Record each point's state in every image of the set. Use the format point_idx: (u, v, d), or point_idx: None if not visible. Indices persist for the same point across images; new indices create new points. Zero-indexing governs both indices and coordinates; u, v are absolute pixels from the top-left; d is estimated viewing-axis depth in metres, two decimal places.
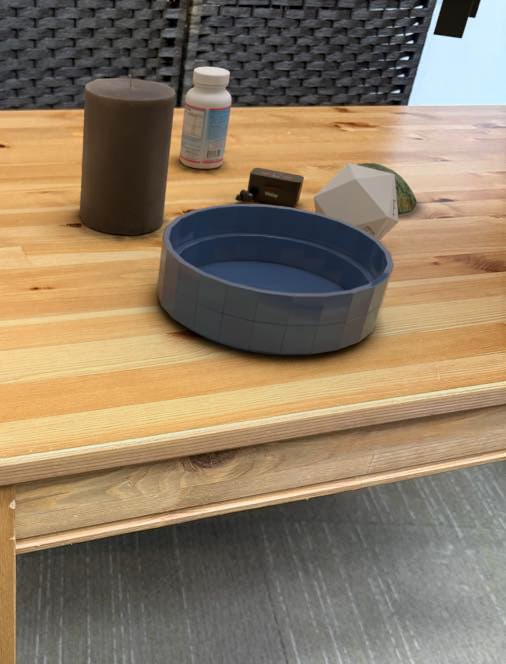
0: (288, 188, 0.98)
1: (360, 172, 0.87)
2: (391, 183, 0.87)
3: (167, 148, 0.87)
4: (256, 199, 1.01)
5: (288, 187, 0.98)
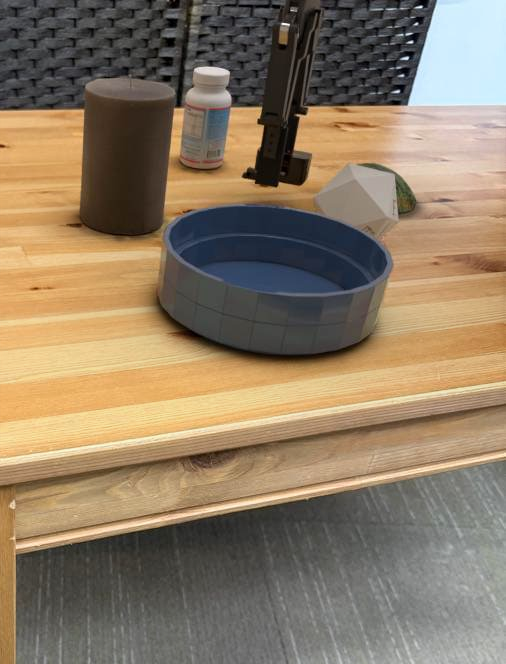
0: (296, 165, 0.96)
1: (360, 172, 0.87)
2: (391, 183, 0.87)
3: (167, 148, 0.87)
4: None
5: (296, 164, 0.96)
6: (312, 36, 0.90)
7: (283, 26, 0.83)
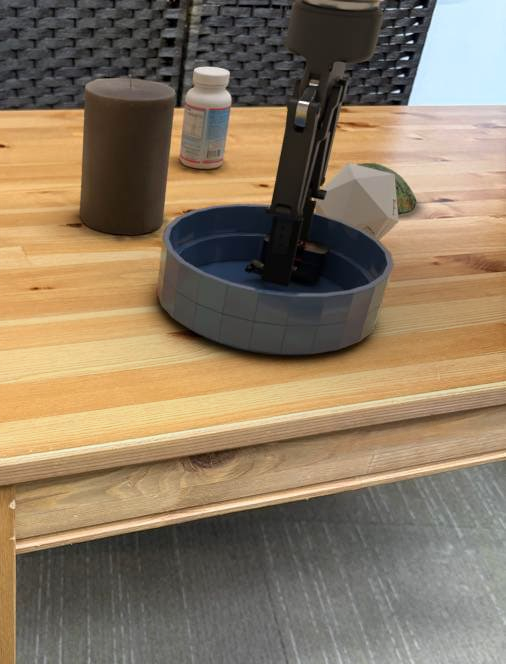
0: (310, 260, 0.80)
1: (360, 172, 0.87)
2: (391, 183, 0.87)
3: (167, 148, 0.87)
4: None
5: (310, 259, 0.80)
6: (335, 111, 0.73)
7: (301, 105, 0.67)
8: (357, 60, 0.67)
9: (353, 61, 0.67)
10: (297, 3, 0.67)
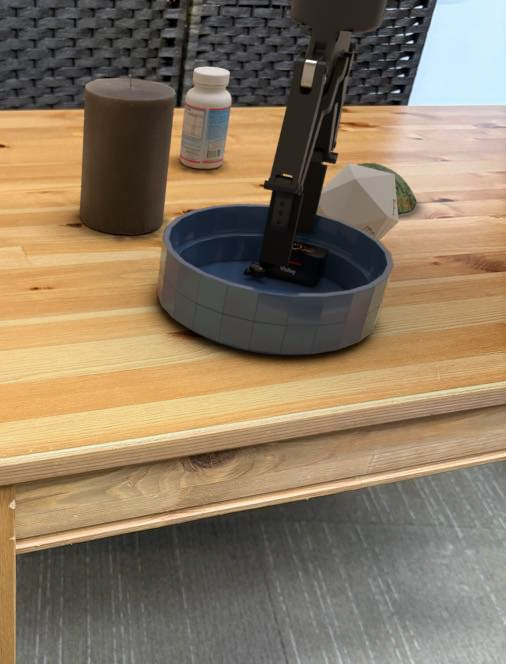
0: (308, 264, 0.80)
1: (360, 172, 0.87)
2: (391, 183, 0.87)
3: (167, 148, 0.87)
4: (269, 274, 0.83)
5: (308, 263, 0.80)
6: (341, 84, 0.71)
7: (309, 62, 0.64)
8: (364, 29, 0.65)
9: (360, 30, 0.65)
10: None
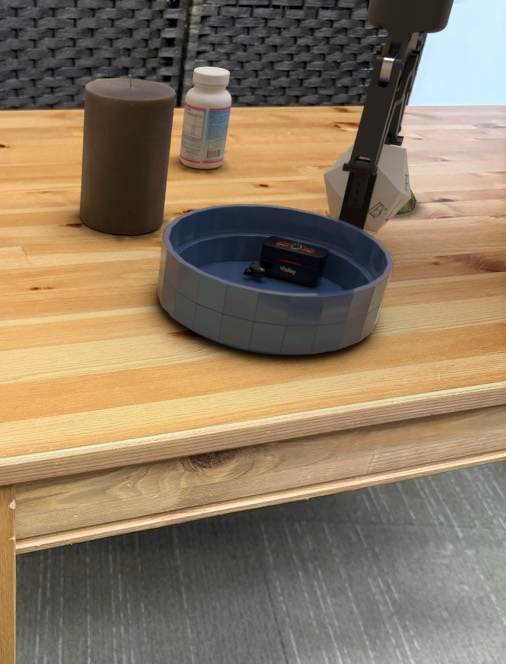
0: (308, 264, 0.80)
1: None
2: (403, 158, 0.85)
3: (167, 148, 0.87)
4: (269, 274, 0.83)
5: (308, 263, 0.80)
6: (410, 77, 0.82)
7: (387, 59, 0.75)
8: (433, 30, 0.76)
9: (430, 31, 0.76)
10: None
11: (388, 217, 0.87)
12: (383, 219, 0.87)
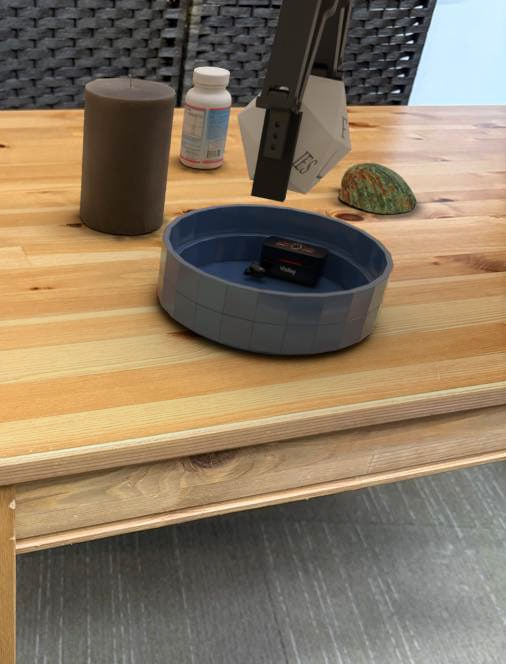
0: (308, 264, 0.80)
1: None
2: (339, 94, 0.64)
3: (167, 148, 0.87)
4: (269, 274, 0.83)
5: (308, 263, 0.80)
6: None
7: None
8: None
9: None
10: None
11: (320, 174, 0.67)
12: (313, 176, 0.66)
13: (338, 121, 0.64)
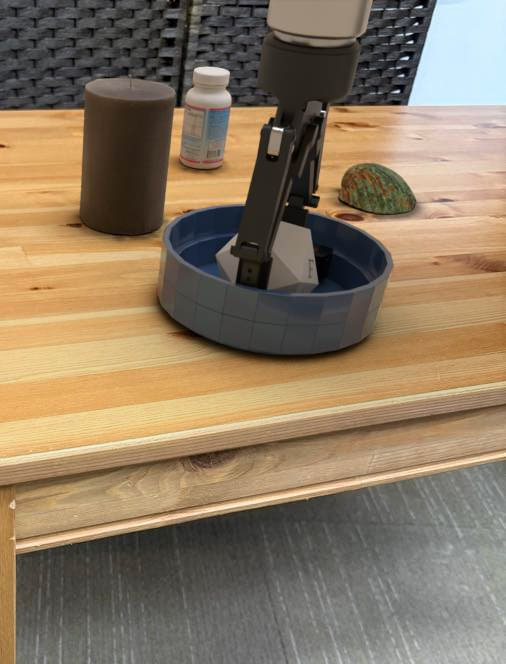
0: None
1: None
2: (306, 240, 0.72)
3: (167, 148, 0.87)
4: None
5: None
6: (314, 145, 0.69)
7: (276, 129, 0.62)
8: (332, 99, 0.63)
9: (328, 100, 0.63)
10: (268, 39, 0.62)
11: None
12: None
13: (305, 265, 0.72)
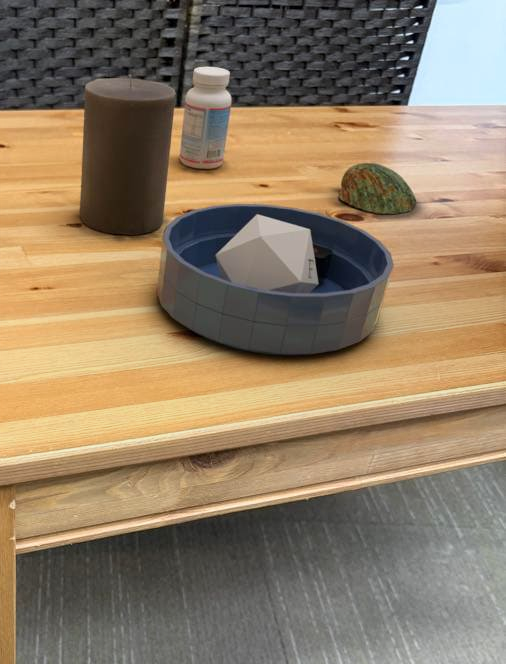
0: None
1: (268, 227, 0.72)
2: (306, 240, 0.72)
3: (167, 148, 0.87)
4: None
5: None
6: None
7: None
8: None
9: None
10: None
11: None
12: None
13: (305, 265, 0.72)
